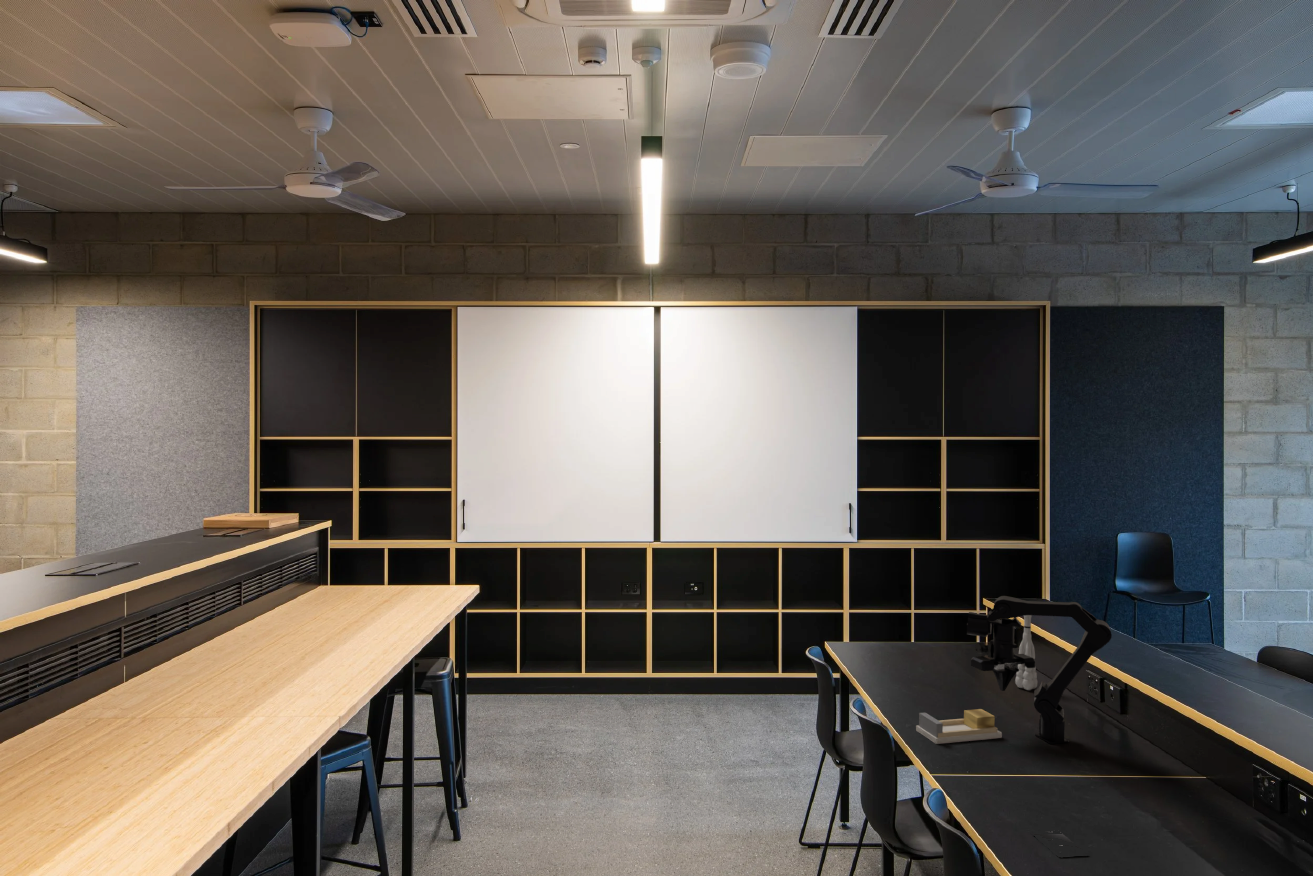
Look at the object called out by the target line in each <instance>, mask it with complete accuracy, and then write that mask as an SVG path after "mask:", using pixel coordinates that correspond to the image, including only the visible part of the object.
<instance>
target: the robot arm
mask: <svg viewBox="0 0 1313 876" xmlns="http://www.w3.org/2000/svg"><path fill="white" fill-rule="evenodd" d="M1026 615H1032V616H1037V617H1038V616H1040V617H1061V618H1062V617H1066V618H1072V619H1073V620H1074V621H1075V622H1076V623H1077V624H1078V625H1079V627H1081V628H1082V629H1083V630H1084V633H1083V636H1082V637H1081V640H1080V643H1079V644H1078V646H1077V647H1076V648H1075V649H1074V651H1073V653H1072V654H1071V655H1070V656H1069V657H1068V659H1067V660H1066V662H1065V663H1064V664H1063V665H1062V666H1061V668H1060V669H1059V670H1058V672H1057V673H1056V675H1055V676H1053V678H1052V679H1051V680H1050V681H1049V682H1047V683H1046V682H1045V681H1044V680H1041V682H1040V685H1039V686H1038V687H1036V688H1035V689H1034V692H1033V693H1034V696H1033V697H1034V701H1033V705H1034V708H1035V710H1036V711H1037V712H1038V713H1039V714H1040V715H1039V719H1038V720H1039V721H1038V725H1039V726H1038V727H1039V728H1038V732H1037V733H1035V734H1034V736H1036V737H1037V738H1039V739H1041V740H1043V741H1045V742H1047V743H1048V744H1051V745H1052V744H1053V745H1055V744H1063V743H1070V740H1069V739H1067V738H1065V734H1066V733H1065V732H1066V731H1065V728H1066V727H1065V726H1066V722H1065V720H1064V719H1065V718H1064V715H1065V713H1064V712H1065V710H1064V708H1063V706H1061V704H1060V702H1061V699H1062V696H1063V694H1064V691H1066V689H1067V687H1068V686H1070V684H1071V682H1073V680H1074V679H1075V677H1076V676H1077V675H1078V674H1079V672H1080V671H1081V670H1082V668H1083V667H1084V666H1085V665H1086V663H1087V662H1088V661H1089V659H1090V658H1091V657H1092V656H1093V654H1095V653H1097V652H1098V651H1100V650H1101V649H1103V648H1104V647H1105V646H1106V645H1108V643H1110V641H1111V640H1112V638H1113V637H1112V631H1111V627H1110V625H1109V624H1108V623H1107V622H1106V621H1104V620H1102V619H1097V618H1096V617H1095V616H1094V615H1093V614H1092V613H1090V612H1089V611H1087V610H1086V609H1085V608H1083V606H1082V605H1081V604H1080V603H1079V602H1076V601H1069V602H1065V601H1064V602H1063V601H1057V602H1056V601H1039V600H1038V601H1035V600H1024V599H1020V598H1017V597H1012V596H1007V595H1001V596H999V597H997V598H996V599H995V601H994V604H993V608H992V609H991V610H990V611H988V614H986V613H985V614H983V613H976V612H974V611H973V612H972V611H969V612H968V617H967V623H966V635H970V636H977V637H982V638H983V637H985V638H987V637H988V636H989V635H991V634H993V636H992V638H993V639H990V641H989V644H986V645H985V643H984V642H976V643H975V649H974V650H975V652H976V654H980V655H979V656H973V657H972V658H971V659H970V666H971V667H974V668H975V669H978V670H980V671H981V672H990V671H992V672H993V673H994V676H995V680H996V682H997V684H998V686H999V690H1000V691H1001V692H1005V691H1006V690H1007V688H1008V686H1009V684H1010V683H1011V681H1012V680H1013V678H1014V677H1015V676H1016V672H1019V669H1018V667H1017V665H1018V664H1024V665H1025V667H1026V668H1035V666H1036V660H1035V659H1033V658H1032V657H1030V656H1027V655H1025V654H1019V653H1014V652H1015V649H1017V648H1018V644H1016V643H1015V627H1016V628H1021V627H1022V622H1021V621H1020V620H1019V619H1018V618H1019V617H1024V616H1026ZM1000 619H1001V620H1000ZM992 624H993V626H992ZM992 627H993V633H992ZM985 656H987V657H985Z"/></svg>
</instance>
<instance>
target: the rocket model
mask: <svg viewBox="0 0 1313 876" xmlns="http://www.w3.org/2000/svg"><path fill="white" fill-rule="evenodd" d="M1032 617H1033V615H1026V616H1023V618H1024V619H1023V620H1024V621H1023V633H1022V640H1021V642H1020V645H1019V647H1018V649H1019V650H1018V654H1025V655H1027V656H1030V657H1032V658H1033V659H1034V660H1035V659H1036V653H1035V645H1034V643H1033V641H1032V633H1031V629H1032ZM1017 669H1019V672H1016V674H1015V680H1014V683H1015V685H1016V686H1017V687H1018V688H1020V689H1023V690H1026V691H1032V690H1036V689H1037V688H1038V679H1037V676H1038V673H1037V671H1036V669H1037V668H1036V665H1035V668H1026V667H1025V665H1024V664H1017Z"/></svg>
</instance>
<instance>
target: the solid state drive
mask: <svg viewBox="0 0 1313 876" xmlns="http://www.w3.org/2000/svg"><path fill="white" fill-rule="evenodd" d="M1050 831H1051V832H1050ZM1053 831H1054V830H1049V831H1045V832H1048V833H1053ZM1060 833H1062V831H1060ZM1034 835H1040V836H1043V837H1042V838H1046V839H1051V838H1058V839H1062V840H1064V841H1067V842H1072V843H1074V841H1072V840H1071V839H1070V838H1069V837H1068V836H1066V835H1065V834H1064V833H1062V834H1044V835H1043V834H1034ZM1051 840H1053V839H1051ZM1051 840H1048V841H1051ZM1062 840H1059V841H1062ZM1052 842H1053V841H1052ZM1062 842H1063V841H1062ZM1067 842H1065V843H1067ZM1072 843H1070V844H1072ZM1059 846H1063V845H1059ZM1065 846H1069V845H1065ZM1077 846H1078V845H1077V844H1076V846H1075V847H1077ZM1071 847H1073V846H1071ZM1077 848H1080V849H1082V848H1081V847H1080V846H1078V847H1077Z"/></svg>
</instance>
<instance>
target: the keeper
mask: <svg viewBox="0 0 1313 876" xmlns="http://www.w3.org/2000/svg"><path fill="white" fill-rule="evenodd" d="M995 717H996V716H995V715H993V714H991V713H989V712H988V711H985V710H984V709H982V708H978V709H967V710H965V709H964V710H963V719H964V724H965V725H967V726H969V727H970V728H972V729H978V728H989V727H995V719H996V718H995Z"/></svg>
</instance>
